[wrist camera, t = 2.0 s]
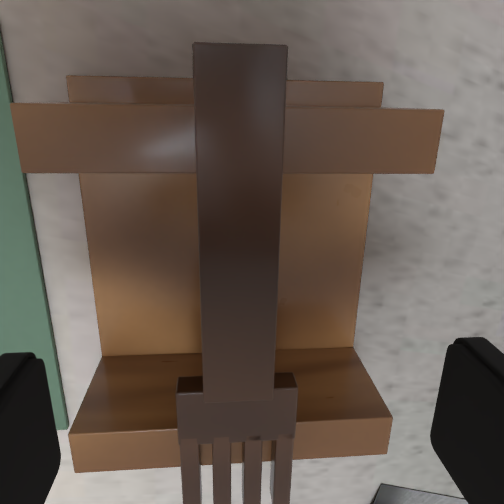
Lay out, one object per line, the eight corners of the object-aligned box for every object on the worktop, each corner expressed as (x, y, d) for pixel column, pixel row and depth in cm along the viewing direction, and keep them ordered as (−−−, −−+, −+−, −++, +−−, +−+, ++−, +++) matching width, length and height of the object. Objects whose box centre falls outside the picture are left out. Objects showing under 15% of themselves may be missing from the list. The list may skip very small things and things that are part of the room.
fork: (158, 48, 12) (150, 40, 10) (313, 52, 12) (327, 45, 10) (184, 494, 17) (181, 531, 16) (286, 487, 18) (293, 522, 16)
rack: (72, 76, 17) (1, 63, 11) (377, 82, 18) (451, 74, 12) (111, 394, 22) (77, 492, 17) (343, 383, 24) (384, 472, 18)
